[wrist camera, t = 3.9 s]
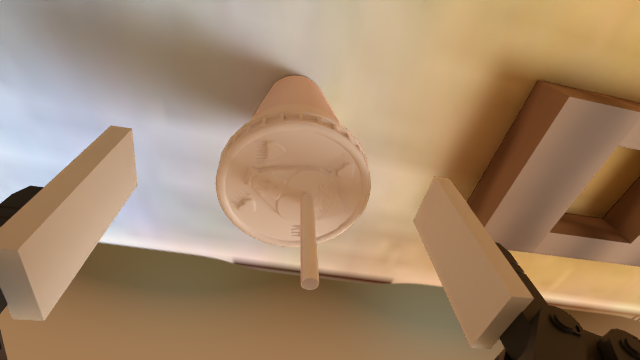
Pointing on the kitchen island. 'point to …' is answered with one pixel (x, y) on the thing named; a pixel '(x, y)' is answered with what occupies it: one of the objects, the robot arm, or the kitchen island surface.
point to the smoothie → (294, 173)
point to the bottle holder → (561, 177)
